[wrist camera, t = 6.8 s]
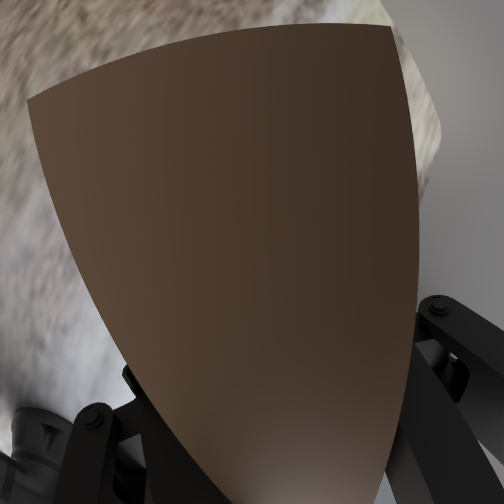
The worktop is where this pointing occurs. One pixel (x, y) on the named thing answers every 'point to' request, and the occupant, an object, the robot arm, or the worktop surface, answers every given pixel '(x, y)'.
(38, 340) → the worktop surface
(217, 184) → the door
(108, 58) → the worktop surface
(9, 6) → the worktop surface
